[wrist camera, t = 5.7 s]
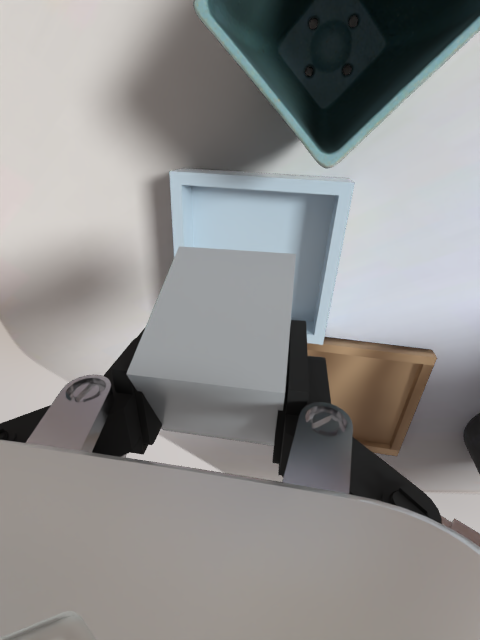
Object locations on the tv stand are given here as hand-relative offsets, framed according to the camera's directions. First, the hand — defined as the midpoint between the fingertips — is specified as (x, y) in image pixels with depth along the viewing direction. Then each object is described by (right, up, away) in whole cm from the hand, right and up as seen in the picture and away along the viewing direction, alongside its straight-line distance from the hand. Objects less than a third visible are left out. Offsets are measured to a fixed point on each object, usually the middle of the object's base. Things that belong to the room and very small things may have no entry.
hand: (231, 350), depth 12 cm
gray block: (0, +2, 0) cm, 2 cm away
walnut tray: (+7, -5, +20) cm, 22 cm away
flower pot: (+6, +18, +8) cm, 20 cm away
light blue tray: (+2, +7, +14) cm, 16 cm away
